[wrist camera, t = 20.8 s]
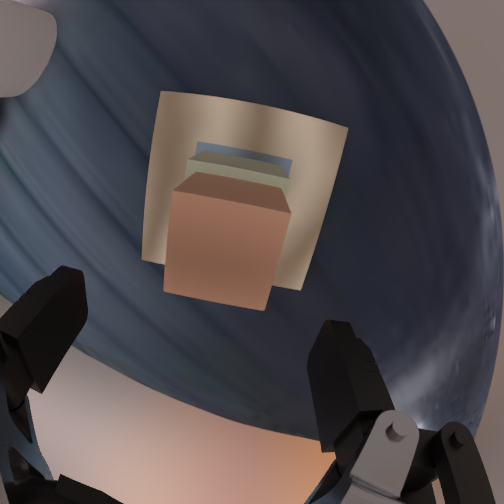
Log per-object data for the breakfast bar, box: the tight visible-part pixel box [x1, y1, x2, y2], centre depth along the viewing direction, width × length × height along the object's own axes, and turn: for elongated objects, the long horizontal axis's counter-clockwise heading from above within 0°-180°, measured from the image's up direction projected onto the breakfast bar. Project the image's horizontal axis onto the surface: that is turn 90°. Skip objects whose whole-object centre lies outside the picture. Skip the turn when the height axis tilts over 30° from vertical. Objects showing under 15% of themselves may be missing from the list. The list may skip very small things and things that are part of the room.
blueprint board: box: [142, 91, 348, 290], centre depth 23 cm, size 15×15×1 cm
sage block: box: [184, 151, 290, 198], centre depth 20 cm, size 6×6×6 cm
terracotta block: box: [163, 171, 291, 311], centre depth 15 cm, size 5×5×5 cm
